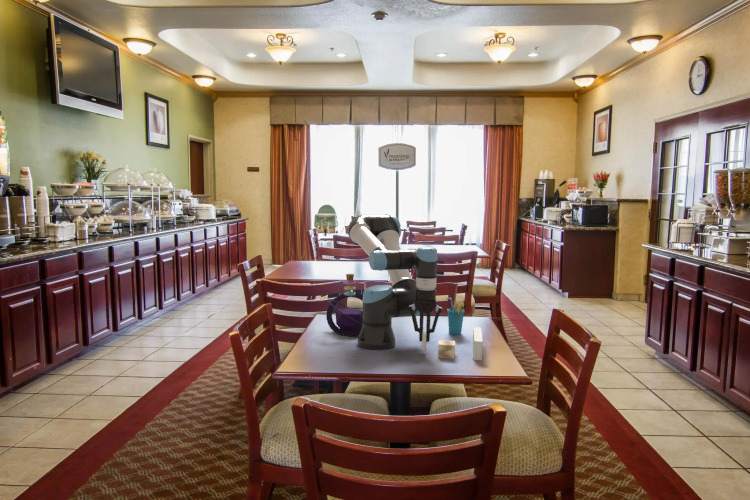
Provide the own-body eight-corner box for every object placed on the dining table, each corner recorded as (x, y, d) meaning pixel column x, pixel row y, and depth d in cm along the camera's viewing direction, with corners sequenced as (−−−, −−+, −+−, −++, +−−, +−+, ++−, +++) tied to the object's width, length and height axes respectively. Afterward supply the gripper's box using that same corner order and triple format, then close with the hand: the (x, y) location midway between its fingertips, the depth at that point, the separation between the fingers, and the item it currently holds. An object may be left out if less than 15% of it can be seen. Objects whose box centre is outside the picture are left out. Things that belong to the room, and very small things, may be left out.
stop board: (473, 359, 187) (474, 341, 186) (472, 343, 206) (473, 327, 205) (481, 360, 186) (482, 341, 185) (480, 344, 206) (481, 327, 205)
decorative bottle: (316, 334, 216) (316, 275, 213) (335, 322, 236) (335, 269, 233) (365, 339, 209) (366, 279, 206) (381, 327, 229) (382, 272, 226)
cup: (438, 329, 226) (439, 296, 224) (453, 328, 229) (454, 295, 227) (454, 338, 213) (455, 303, 212) (470, 336, 216) (471, 302, 214)
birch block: (437, 357, 189) (438, 344, 188) (438, 352, 195) (439, 339, 194) (454, 358, 188) (454, 345, 187) (454, 353, 194) (455, 340, 193)
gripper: (407, 289, 187) (405, 351, 190) (443, 291, 185) (440, 354, 188) (409, 285, 195) (408, 345, 197) (444, 287, 192) (441, 348, 195)
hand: (424, 349), depth 192 cm, fingers closed
